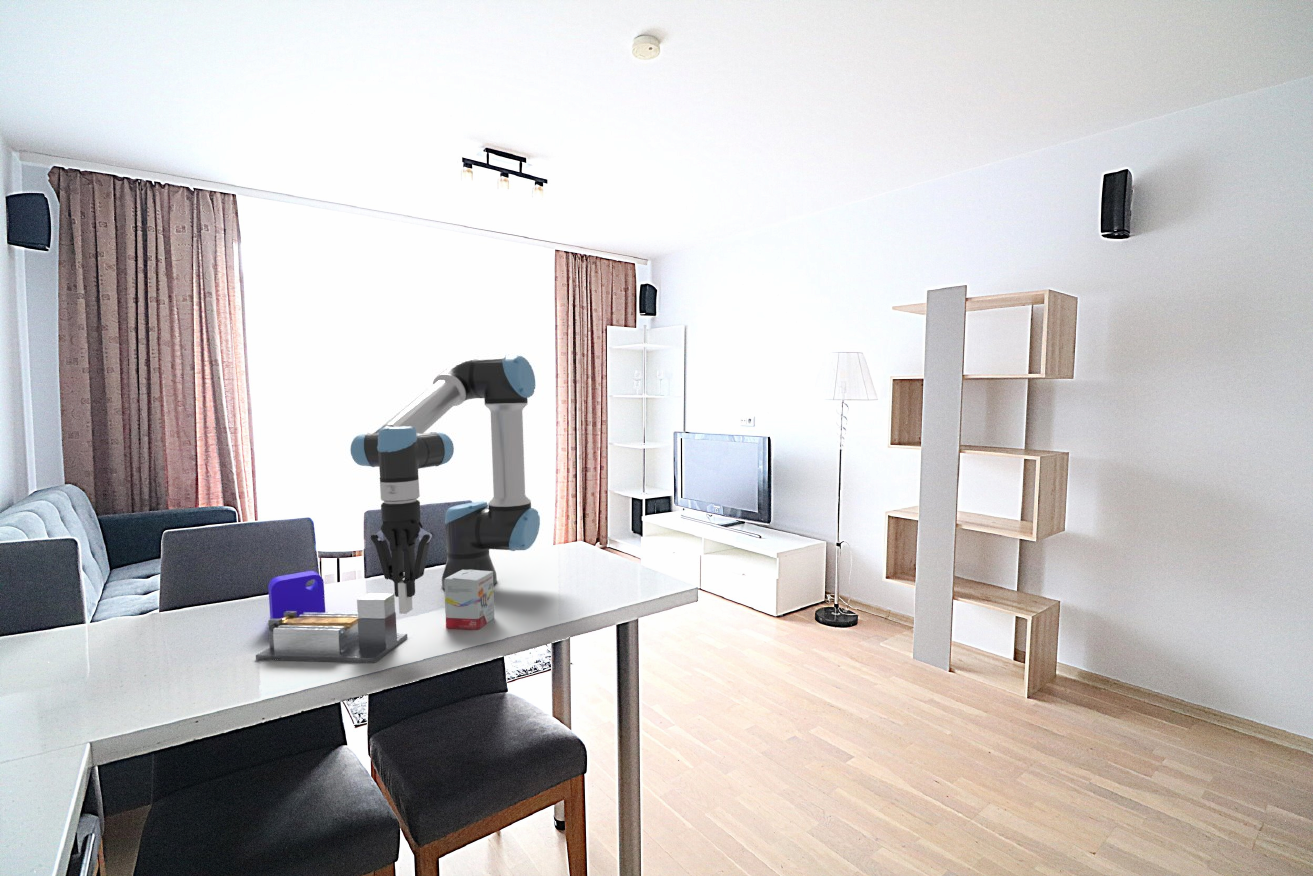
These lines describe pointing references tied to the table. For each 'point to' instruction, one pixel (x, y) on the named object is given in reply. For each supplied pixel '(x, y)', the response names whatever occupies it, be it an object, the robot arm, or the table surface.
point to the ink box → (469, 599)
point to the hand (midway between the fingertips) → (405, 611)
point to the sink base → (359, 652)
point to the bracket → (296, 594)
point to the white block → (376, 606)
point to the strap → (319, 621)
